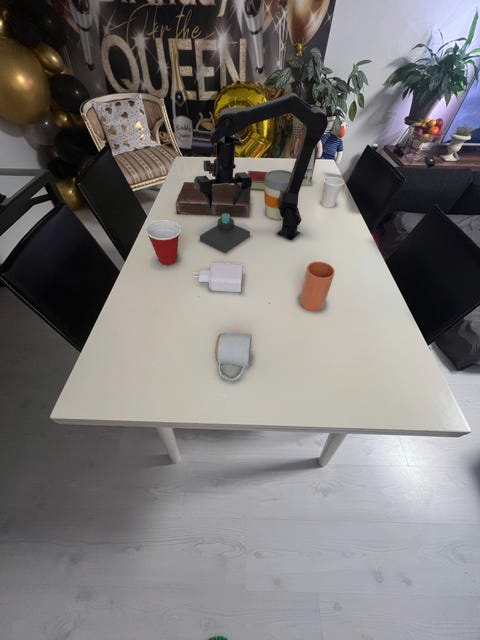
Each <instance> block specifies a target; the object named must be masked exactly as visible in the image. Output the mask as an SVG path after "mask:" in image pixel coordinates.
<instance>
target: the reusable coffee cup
mask: <svg viewBox="0 0 480 640" xmlns="http://www.w3.org/2000/svg"><path fill="white" fill-rule="evenodd" d="M267 172H268V173H266V175H265V180H264V184H265V189H264V191H263V197H264V204H265V215H266V217H268V218H269V219H273V220H283V218H282V217H281V215H280V211H279V208H278V203H277V200H278V198H279V196H280V190H282V191H285V189H286V188H287V186H288V183H289V180H290V177H291V174H292V171H289V170H285V169H273V170H270V171H267Z"/></svg>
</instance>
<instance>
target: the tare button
mask: <svg viewBox="0 0 480 640" xmlns="http://www.w3.org/2000/svg"><path fill="white" fill-rule="evenodd" d="M221 217H222V223H230V218H231V217H230V215H229V214H227V213H225V214H222V216H221Z"/></svg>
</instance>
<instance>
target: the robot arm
mask: <svg viewBox="0 0 480 640" xmlns="http://www.w3.org/2000/svg"><path fill="white" fill-rule="evenodd" d="M288 114H291V115H292V116H294V118H296V119H297V120H298V121H300V122H301V123H302V127H301V140H300V145H299V148H298V152H297V155H296V158H295V161H294V164H293V168H292V171H291V172H292V174H291V177H290V180H289V183H288V186H287V188H286V189H285V191H282V190H280V196H279V198H278V200H277V203H278V208H279V211H280V215H281V217H282V218H283V219H282V223H281V228H280V230H279V231H278V232H277V233H276V235H278V236H279V237H282V238H284V239H287V240H288V241H293V240H294V239H295V238H296V237H298V236H299V235H300V234H301V231H298V226H300V224H301V222H302V221H303V220H302V217H301V213H300V209H299V194H300V191H301V188H302V186H303V185H302V182H303V179H304V176H305V173H306V171H307V168H308V165H309V162H310V159H311V156H312V153H313V150H314V148H315V146H316V145H318V144H319V143H320V141H321V140H322V138H323V136H324V134H325V132H326V130H327V129H328V125H329V120H328V117H327V115H326V114H325V112H324V111H323V110H322V108H320V107H319V106H312V105H310V104H309V103H308V102H306V101H305V100H303V99H302V98H300V97H299V96H298V95H297V94H296V93H295V92H290V93H288V94H286V95H283V96H279V97H276V98H273V99H269V100H267V101H263V102H259V103H257V104H254V105H250V106H245V107H239V106H237V107H236V106H235V107H226V108H223V109H222V110H221V111H220V112H219V114H218V115H217V116H218V117H217V122H216V123H215V125H214V126H213V127H212V129H211V131H206V130H205V131H204V130H199V129H197V128H196V129H195V128H194V129H192V133H191V134H192V137H191V145H190V154H191V156H193V157H203V158H211V157H213V156H212V155H214V154H215V158H213V162H211V161H212V160H209V159H208V160H203V163H202V165H203V166H202V167H203V171H204V172H208V175H211V176H212V177H213V178H209V177H208V176H207V175H198V176H195V177H194V179H193V182H194V185H195V186H196V188H197V189H198V190H199V191H200V192H202V193H203V194H205V197H206V200H207V203H208V206H209V208H210V209H211V207H212V195H213V192H212V191H211V189H212V186H215V185H225V184H234V195H233V205H236V203H237V201H238V200H239V198H240V197H241V195H242V194H243V193H244V191H245V190H247V189H248V187H251V186H252V178H251V177H250V176H249V175H248V174H247V173H248V172H246V171H241V172H239V171H238V172H235V173H234V169H236V167H237V164H236V163H235V159H236V157H235V156H236V146H240V147H242V145H243V140H242V139H241V137H240V136H239V133H241V132H242V131H243V130H245V129H246V128H248V127H250V126H252V125H254V124H258V123H262V122H265V121H269V120H272V119H275V118H279V117H281V116H284V115H288ZM215 143H216V149H215ZM215 152H216V153H215Z"/></svg>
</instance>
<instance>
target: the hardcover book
mask: <svg viewBox="0 0 480 640" xmlns="http://www.w3.org/2000/svg"><path fill="white" fill-rule="evenodd" d="M268 172H269V171H261V170H259V171H258V170H247V172H246V173H247V174H248V175H249V176H250V177H251V178H252V186H251V191H262V192H264V189H265V184H264V180H265V175H266V173H268Z"/></svg>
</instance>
